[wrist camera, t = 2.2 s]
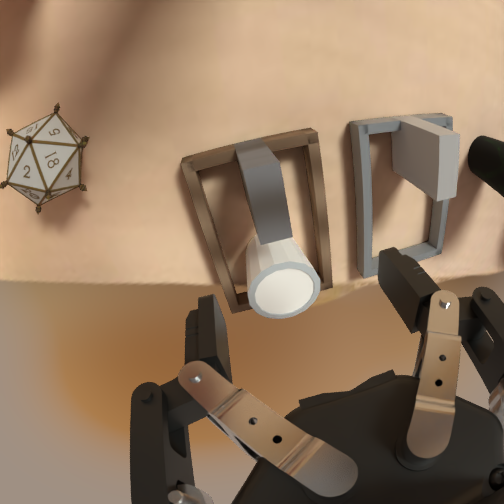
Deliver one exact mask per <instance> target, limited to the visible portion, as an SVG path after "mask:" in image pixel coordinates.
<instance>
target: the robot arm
mask: <svg viewBox="0 0 504 504" xmlns="http://www.w3.org/2000/svg"><path fill="white" fill-rule="evenodd" d="M378 281H379V284H380V286H381V288H382V290H383V291H384V293H385V294H386V295H387V297H388V298H389V300H390V301H391V303H392V304H393V306H394V308H395V309H396V311H397V312H398V314H399V315H400V317H401V318H402V320H403V321H404V323H405V324H406V326H407V328H408V329H409V330H410V332H411V334H412V333H415V332H417V331H420V333H421V338H420V342H419V349H418V353H417V358H416V363H415V368H414V372H413V375H412V376H408V375H395V373H394V371H393V370H390V371H387V372H385V373H382V374H379V375H377V376H374V377H371V378H370V379H368V380H367V381H365V382H363V383H362V384H360V385H359V386H357V387H356V388H354V389H352V390H351V391H345V392H334V393H322V394H319V395H316V396H312V397H308V398H305V399H301V400H299V404H300V407H298V408H296V409H294V410H293V411H291V412H290V413H289V414H288V415H286V416H285V417H284V418H283V417H282V416H281V415H279V414H278V413H276V412H275V411H273V410H272V409H270V408H269V407H268V406H266V405H265V404H264V403H262V402H261V401H260V400H258V399H257V398H256V397H254V396H253V395H252V394H250V393H249V392H248V391H246V390H244V389H238V388H236V387H235V386H234V385H233V383H232V375H231V367H230V357H229V348H228V338H227V329H226V324H225V320H224V317H223V314H222V312H221V309H220V306H219V304H218V301H217V299H216V297H215V295H214V294H212V295H207V296H203V297H199V298H198V309H197V310H192V311H190V313H189V315H188V317H187V319H186V331H185V336H186V338H185V365H184V366H183V367H182V369H181V370H180V372H179V374H178V377H176V378H175V379H173V380H172V381H170V382H167V383H165V384H163V385H161V386H158V385H157V384H155V383H153V382H147V383H143V384H141V385H139V386H138V387H137V388H136V389H135V390H134V392H133V394H132V398H131V421H130V480H131V501H132V504H214V503H213V500H212V498H211V497H210V496H209V494H207V493H206V492H204V491H202V490H200V489H198V488H196V487H195V483H194V476H193V468H192V460H191V452H190V442H189V433H188V425H189V424H191V423H193V422H196V421H198V420H200V419H202V418H204V417H207V418H208V419H209V420H210V421H211V422H212V423H213V424H214V425H216V426H217V427H218V428H219V429H220V430H221V431H222V432H223V433H224V434H225V435H227V436H228V437H229V438H230V439H231V440H232V441H233V442H234V443H235V444H236V445H237V446H238V447H239V448H240V449H242V450H243V451H244V452H245V453H246V454H248V455H249V456H250V457H251V458H252V459H253V460H255V461H256V462H257V463H256V465H255V466H254V468H253V470H252V471H251V473H250V475H249V476H248V478H247V480H246V481H245V483H244V484H243V486H242V487H241V489H240V491H239V492H238V494H237V495H236V497H235V499H234V500H233V502H232V503H231V504H504V303H503V302H502V301H501V299H500V298H499V297H498V296H497V294H496V293H495V292H494V291H493V290H491V289H489V288H487V287H479V288H476V289H475V290H474V292H473V295H472V297H462V298H457V296H456V295H455V294H453V293H452V292H449V291H446V290H441V289H440V288H439V287H438V286H437V285H436V283H435V282H434V281H433V280H432V279H431V277H430V276H429V275H428V274H427V273H426V272H425V271H424V269H423V268H422V267H420V265H419V264H418V263H417V262H416V260H415V259H413V258H411V257H410V256H408V255H406V254H405V255H402V254H401V253H400V252H399V251H398V250H397V249H396V248H395V247H392V248H389V249H385V250H382V251H380V252H379V264H378ZM486 330H487V331H488V333H489V334H490V336H491V337H492V339H493V341H494V343H493V341H492V340H491V338H490V337H489V335H488V333H487V332H486ZM461 343H462V345H463V347H464V348H465V350H466V352H467V353H468V355H469V357H470V359H471V360H472V362H473V363H474V366H475V367H476V369H477V371H478V373H479V374H480V376H481V378H482V380H483V382H484V384H485V386H486V387H487V389H488V391H489V393H490V396H489V410H487V409H485V408H482V407H480V406H478V405H476V404H473V403H471V402H469V401H467V400H465V399H462V398H460V397H458V396H456V389H457V381H458V373H459V363H460V351H461Z"/></svg>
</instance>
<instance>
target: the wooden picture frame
mask: <svg viewBox="0 0 504 504" xmlns="http://www.w3.org/2000/svg"><path fill="white" fill-rule="evenodd" d="M299 146H303V150H304V156H305V163H306V170H307V177H308V184H309V191H310V198H311V206H312V214H313V222H314V231H315V240H316V249H317V258H318V269H319V273H317V275H318V276H319V278H320V291H322V290H326V289H329V288H333V284H332V267H331V252H330V239H329V227H328V215H327V205H326V196H325V186H324V178H323V169H322V161H321V154H320V146H319V139H318V132H317V131H315V130H313V129H312V128H307V129H301V130H296V131H291V132H286V133H281V134H276V135H271V136H266V137H262V138H257V139H253V140H248V141H244V142H240V143H236V144H232V145H228V146H224V147H220V148H216V149H212V150H209V151H205V152H201V153H198V154H194V155H191V156H187V157H184V158H182V162H181V166H182V169H183V172H184V176H185V179H186V182H187V185H188V188H189V191H190V194H191V197H192V200H193V203H194V206H195V209H196V213H197V216H198V219H199V222H200V224H201V227H202V230H203V233H204V236H205V239H206V242H207V245H208V248H209V251H210V254H211V257H212V259H213V262H214V265H215V268H216V271H217V274H218V276H219V279H220V282H221V285H222V288H223V290H224V293H225V296H226V299H227V301H228V304H229V307H230V310H231V312H232V313H237V312H241V311H245V310H249V309H253V308H252V307H251V306H250V304H249V299H248V293H247V292H243V293H239V294H237V293H236V291H235V287H234V284H233V281H232V278H231V275H230V272H229V269H228V266H227V263H226V260H225V257H224V253H223V250H222V247H221V244H220V241H219V238H218V235H217V231H216V228H215V225H214V222H213V219H212V215H211V212H210V209H209V206H208V202H207V199H206V196H205V193H204V189H203V186H202V183H201V179H200V176H199V173H198V170H202V169H206V168H209V167H213V166H217V165H221V164H224V163H228V162H232V161H236V160H238V164H239V168H240V173H241V177H242V181H243V185H244V189H245V193H246V197H247V201H248V205H249V208H250V212H251V215H252V218H253V222H254V225H255V228H256V232H257V235H258V238H259V242H260V245H264V244H268V243H272V242H276V241H280V240H283V239H287V238H291V237H293V236H292V229H291V223H290V217H289V211H288V206H287V200H286V194H285V188H284V183H283V177H282V172H281V167H280V162H279V160H278V159H277V158H276V157H275V155H274V154H273V153H272V152H275V151H279V150H284V149H289V148H294V147H299Z"/></svg>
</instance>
